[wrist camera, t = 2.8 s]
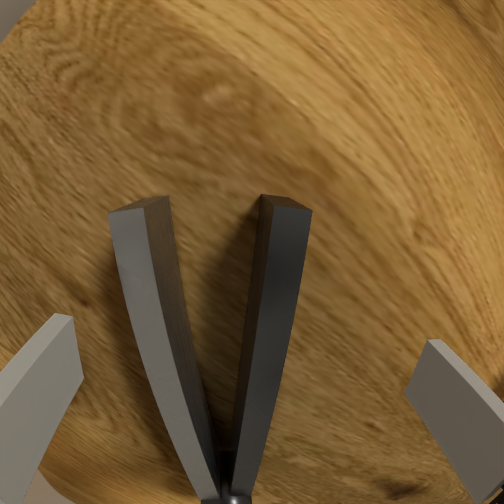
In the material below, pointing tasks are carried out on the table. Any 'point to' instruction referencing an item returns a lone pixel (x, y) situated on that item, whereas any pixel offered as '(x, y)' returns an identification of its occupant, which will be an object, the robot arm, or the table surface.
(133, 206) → the bar
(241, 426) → the blade
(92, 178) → the table surface
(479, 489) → the robot arm
